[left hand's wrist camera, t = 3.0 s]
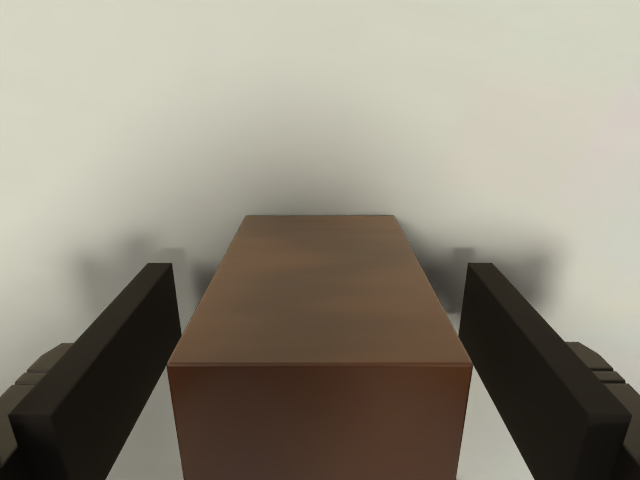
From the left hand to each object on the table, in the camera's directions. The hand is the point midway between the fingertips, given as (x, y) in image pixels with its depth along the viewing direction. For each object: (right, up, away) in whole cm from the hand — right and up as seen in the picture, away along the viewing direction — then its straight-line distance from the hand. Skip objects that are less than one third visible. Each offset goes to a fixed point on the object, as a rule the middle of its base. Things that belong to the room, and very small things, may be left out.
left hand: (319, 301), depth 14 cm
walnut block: (0, +1, +1) cm, 1 cm away
